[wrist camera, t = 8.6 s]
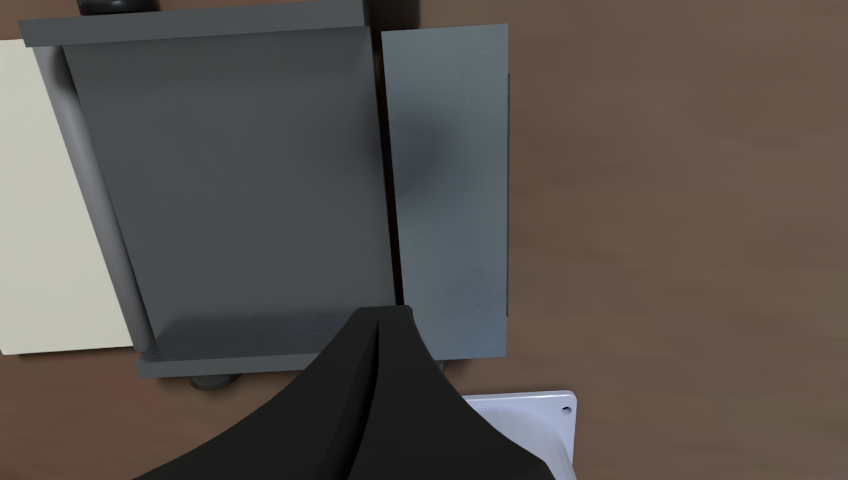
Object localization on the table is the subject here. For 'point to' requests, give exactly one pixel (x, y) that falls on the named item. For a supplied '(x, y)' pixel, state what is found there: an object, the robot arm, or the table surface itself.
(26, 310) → the panel
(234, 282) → the grey piece
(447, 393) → the robot arm
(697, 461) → the table surface
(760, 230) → the table surface
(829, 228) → the table surface
